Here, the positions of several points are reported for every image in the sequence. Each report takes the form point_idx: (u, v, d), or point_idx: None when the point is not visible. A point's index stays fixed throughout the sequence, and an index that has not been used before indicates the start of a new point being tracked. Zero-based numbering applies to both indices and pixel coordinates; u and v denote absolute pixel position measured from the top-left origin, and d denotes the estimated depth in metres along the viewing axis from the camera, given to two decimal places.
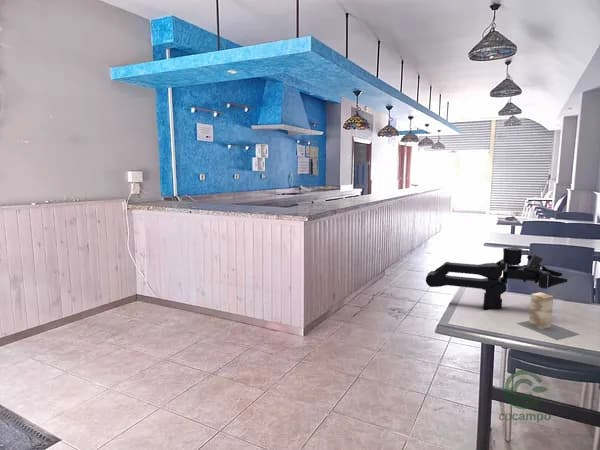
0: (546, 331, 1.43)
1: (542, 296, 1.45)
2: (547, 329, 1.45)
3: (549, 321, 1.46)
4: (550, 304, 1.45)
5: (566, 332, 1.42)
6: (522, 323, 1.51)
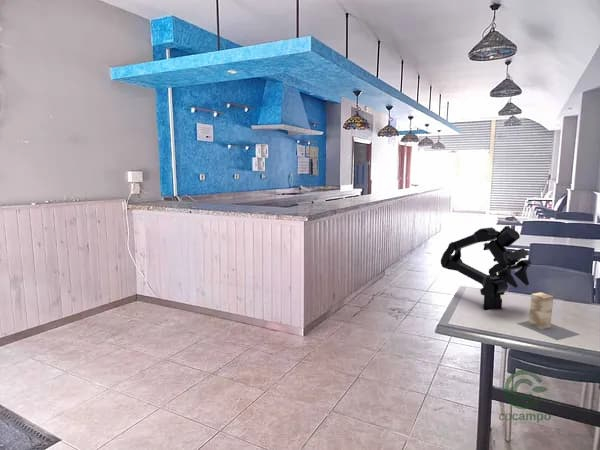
0: (546, 331, 1.43)
1: (542, 296, 1.45)
2: (547, 329, 1.45)
3: (549, 321, 1.46)
4: (550, 304, 1.45)
5: (566, 332, 1.42)
6: (522, 323, 1.51)
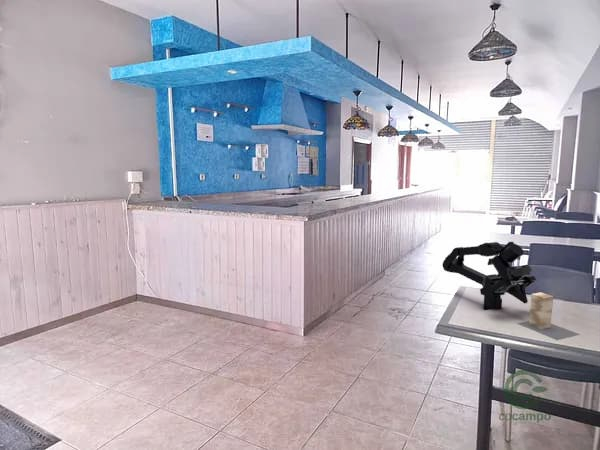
0: (546, 331, 1.43)
1: (542, 296, 1.45)
2: (547, 329, 1.45)
3: (549, 321, 1.46)
4: (550, 304, 1.45)
5: (566, 332, 1.42)
6: (522, 323, 1.51)
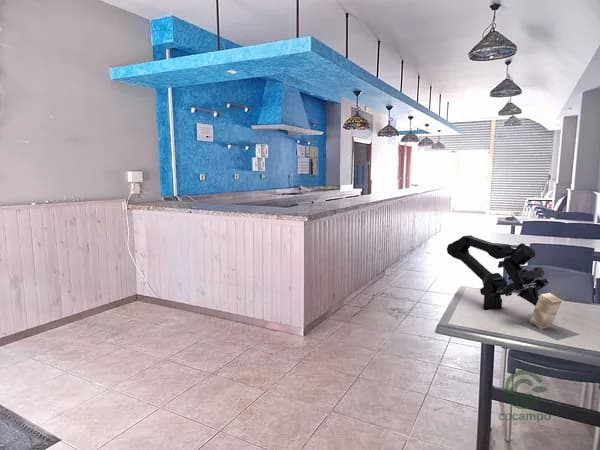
0: (546, 331, 1.43)
1: (551, 299, 1.42)
2: (547, 329, 1.45)
3: (551, 322, 1.46)
4: (557, 308, 1.43)
5: (566, 332, 1.42)
6: (522, 323, 1.51)
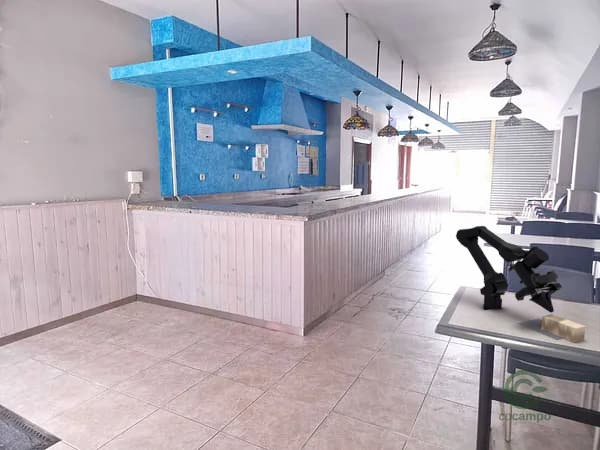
0: (546, 331, 1.43)
1: (577, 337, 1.34)
2: None
3: None
4: None
5: None
6: (522, 323, 1.51)
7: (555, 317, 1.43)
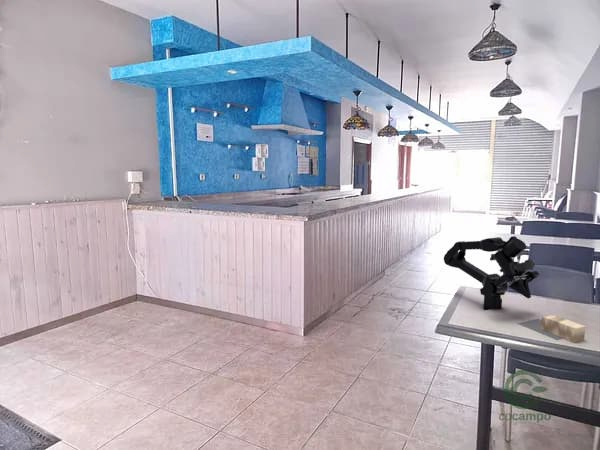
0: (546, 331, 1.43)
1: (577, 337, 1.34)
2: None
3: None
4: None
5: None
6: (522, 323, 1.51)
7: (555, 317, 1.43)
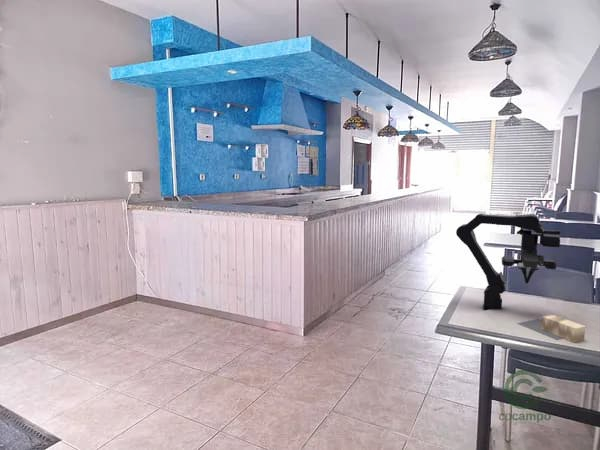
0: (546, 331, 1.43)
1: (577, 337, 1.34)
2: None
3: None
4: None
5: None
6: (522, 323, 1.51)
7: (555, 317, 1.43)
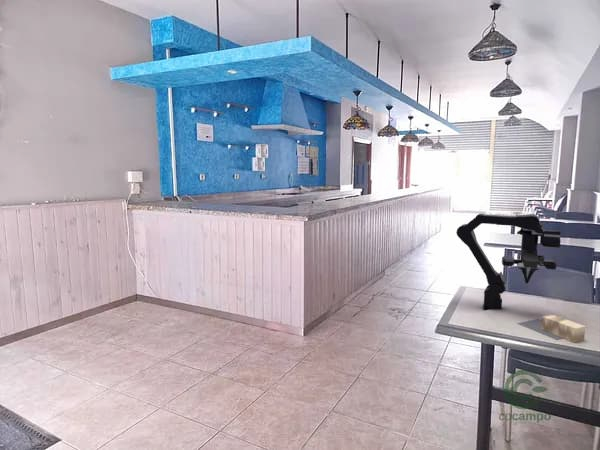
0: (546, 331, 1.43)
1: (577, 337, 1.34)
2: None
3: None
4: None
5: None
6: (522, 323, 1.51)
7: (555, 317, 1.43)
